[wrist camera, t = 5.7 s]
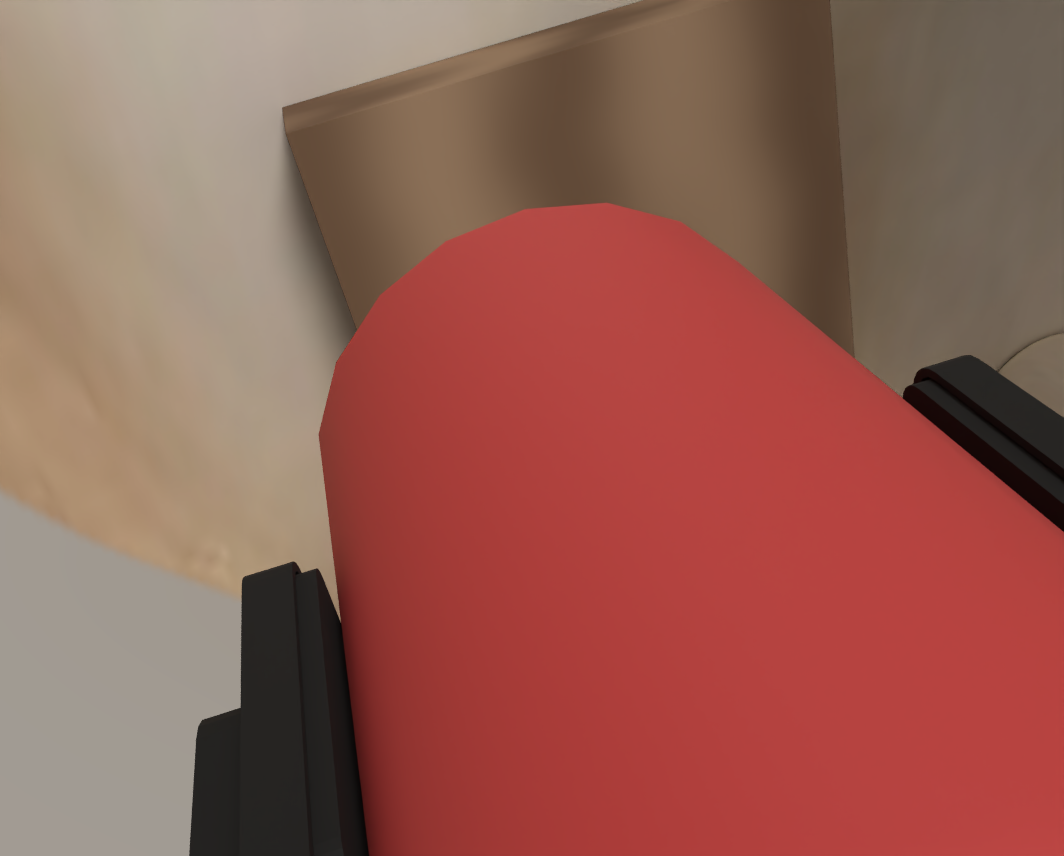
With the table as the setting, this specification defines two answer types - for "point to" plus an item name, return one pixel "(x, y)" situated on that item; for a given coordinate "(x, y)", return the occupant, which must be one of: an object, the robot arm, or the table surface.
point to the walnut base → (599, 144)
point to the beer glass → (1040, 371)
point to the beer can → (673, 571)
